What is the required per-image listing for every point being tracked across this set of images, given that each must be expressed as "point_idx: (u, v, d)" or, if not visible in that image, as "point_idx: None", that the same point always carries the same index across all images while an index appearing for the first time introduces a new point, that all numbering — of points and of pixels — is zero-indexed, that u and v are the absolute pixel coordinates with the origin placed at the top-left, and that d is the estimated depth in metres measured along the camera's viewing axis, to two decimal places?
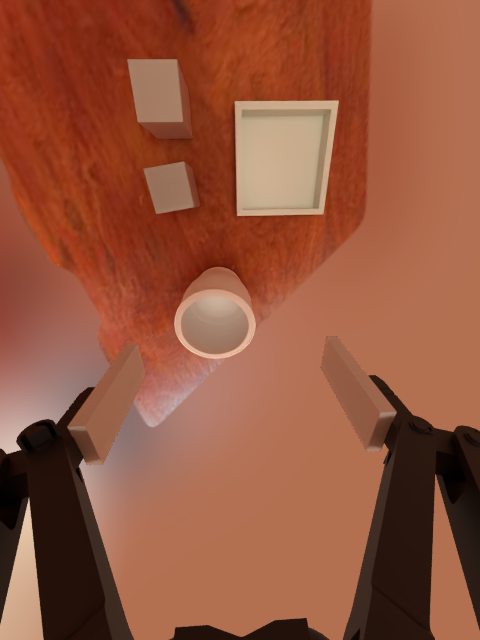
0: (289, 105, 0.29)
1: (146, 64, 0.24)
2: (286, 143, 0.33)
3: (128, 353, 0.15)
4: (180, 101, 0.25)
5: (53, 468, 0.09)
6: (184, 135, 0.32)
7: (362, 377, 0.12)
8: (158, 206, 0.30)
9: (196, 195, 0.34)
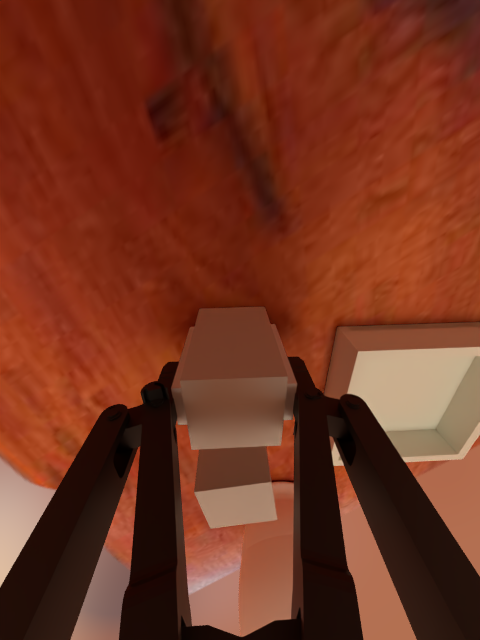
0: (452, 352, 0.16)
1: (220, 385, 0.11)
2: (416, 366, 0.20)
3: None
4: None
5: (159, 424, 0.10)
6: None
7: None
8: (215, 523, 0.17)
9: None
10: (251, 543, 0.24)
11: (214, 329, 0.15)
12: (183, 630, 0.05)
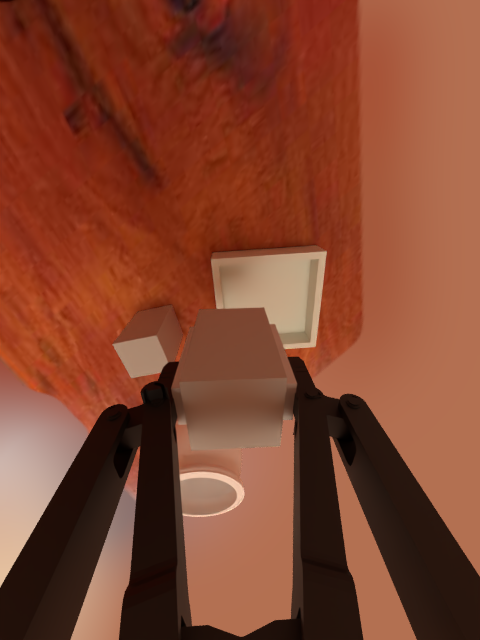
0: (271, 258, 0.26)
1: (220, 386, 0.11)
2: (271, 279, 0.30)
3: None
4: None
5: (159, 424, 0.10)
6: None
7: (281, 357, 0.14)
8: (132, 372, 0.27)
9: (176, 336, 0.32)
10: None
11: (214, 330, 0.15)
12: (183, 630, 0.05)
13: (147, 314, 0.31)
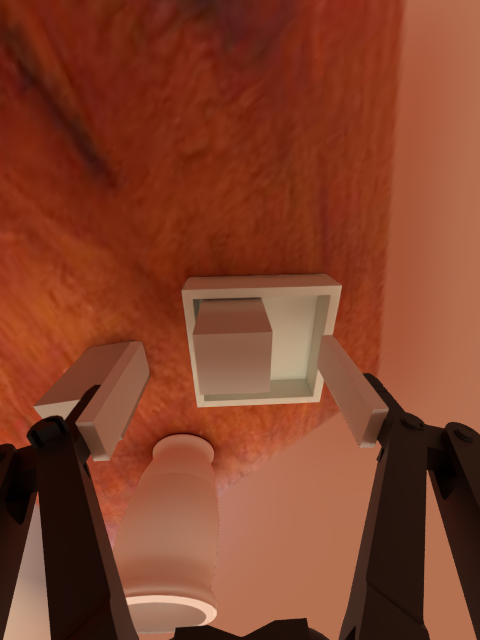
0: (266, 292, 0.19)
1: (222, 339, 0.15)
2: None
3: (133, 352, 0.15)
4: (269, 371, 0.16)
5: (61, 463, 0.09)
6: None
7: (356, 375, 0.13)
8: None
9: None
10: (140, 482, 0.27)
11: (217, 304, 0.19)
12: None
13: (99, 354, 0.23)
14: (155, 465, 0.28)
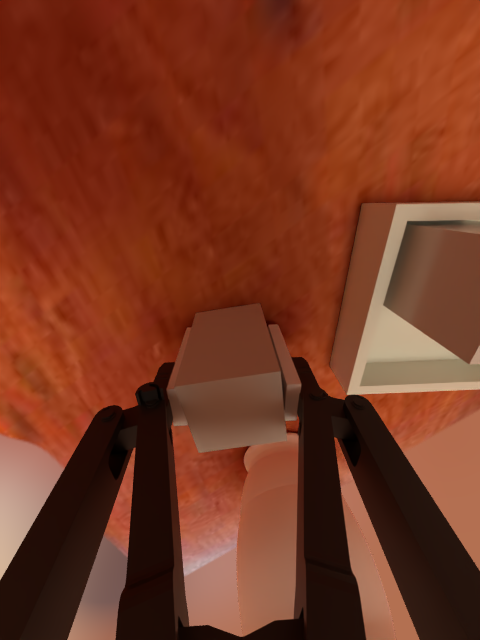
0: None
1: None
2: None
3: None
4: None
5: (155, 425, 0.10)
6: None
7: (284, 357, 0.14)
8: (205, 443, 0.13)
9: None
10: (252, 496, 0.20)
11: (453, 226, 0.12)
12: (180, 631, 0.05)
13: (220, 319, 0.16)
14: (269, 473, 0.21)
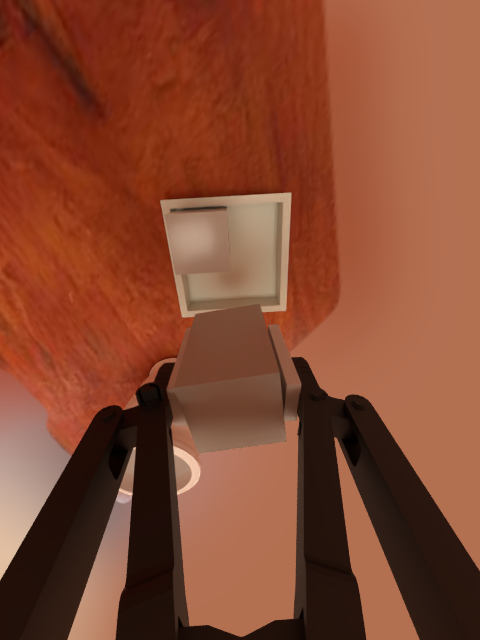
0: (229, 201, 0.23)
1: (188, 218, 0.19)
2: (235, 233, 0.27)
3: None
4: (228, 251, 0.21)
5: (155, 425, 0.10)
6: None
7: (284, 357, 0.14)
8: (205, 443, 0.13)
9: None
10: None
11: (189, 210, 0.23)
12: (180, 630, 0.05)
13: (220, 320, 0.16)
14: (150, 376, 0.32)
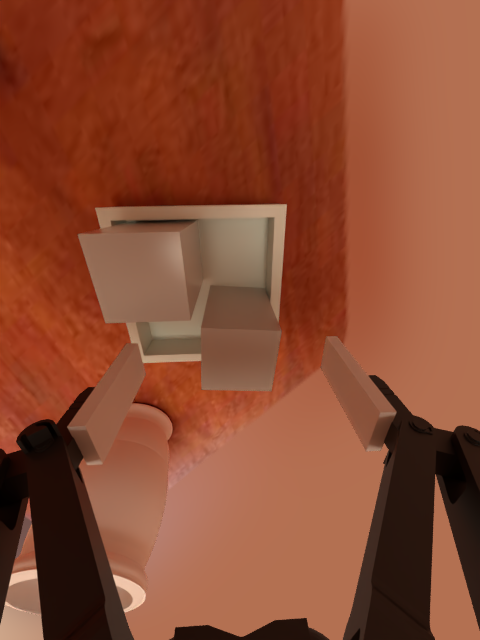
0: (197, 212, 0.16)
1: (117, 241, 0.12)
2: (210, 254, 0.20)
3: (128, 353, 0.15)
4: (186, 292, 0.13)
5: (53, 468, 0.09)
6: None
7: (362, 377, 0.12)
8: (209, 381, 0.16)
9: None
10: None
11: (137, 224, 0.16)
12: None
13: (232, 293, 0.20)
14: None
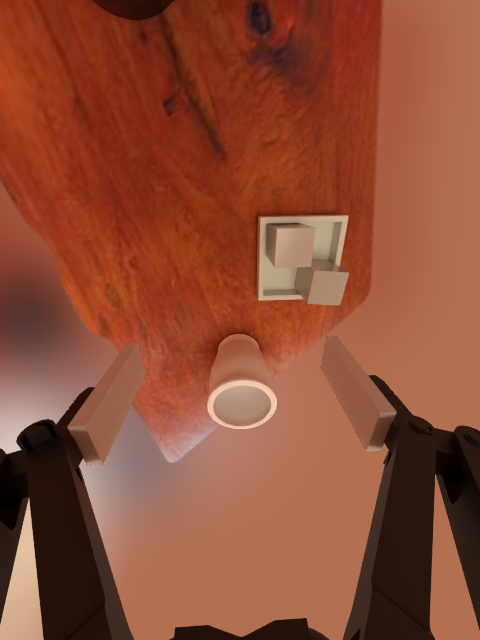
0: (306, 219, 0.34)
1: (291, 231, 0.30)
2: None
3: (128, 354, 0.15)
4: (311, 253, 0.31)
5: (53, 468, 0.09)
6: None
7: (362, 377, 0.12)
8: (312, 299, 0.34)
9: None
10: (218, 354, 0.42)
11: (280, 225, 0.34)
12: None
13: (314, 260, 0.38)
14: (227, 345, 0.43)
